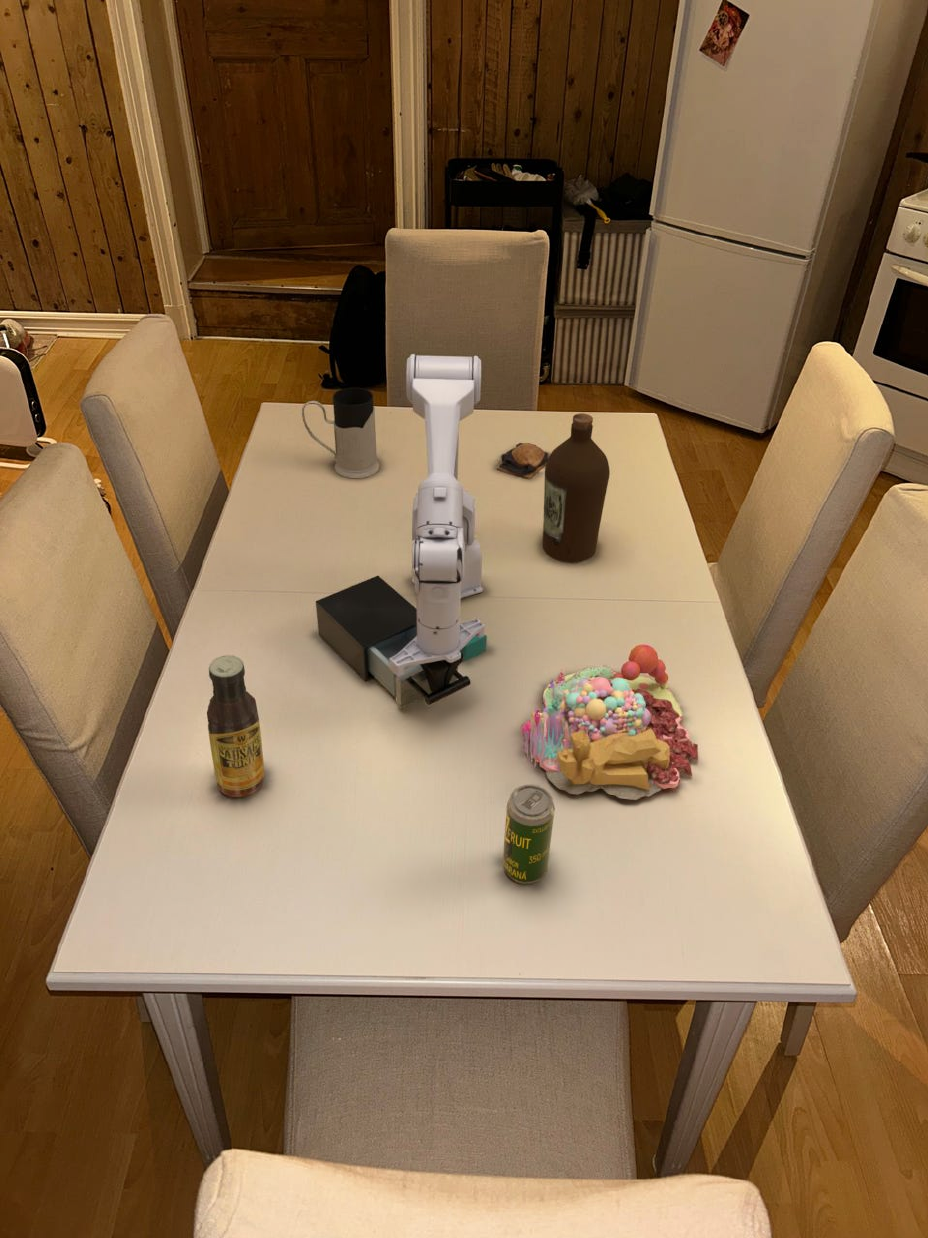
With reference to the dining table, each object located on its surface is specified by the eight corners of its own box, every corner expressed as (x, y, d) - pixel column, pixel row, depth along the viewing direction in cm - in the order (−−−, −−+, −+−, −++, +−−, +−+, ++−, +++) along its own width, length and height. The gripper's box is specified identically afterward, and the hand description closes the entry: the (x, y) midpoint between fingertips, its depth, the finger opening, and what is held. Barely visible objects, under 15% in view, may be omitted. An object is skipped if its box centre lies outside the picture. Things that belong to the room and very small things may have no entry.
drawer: (478, 699, 136) (479, 672, 133) (421, 728, 131) (420, 701, 128) (409, 636, 146) (408, 610, 143) (353, 661, 142) (351, 635, 138)
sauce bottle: (225, 807, 121) (201, 691, 108) (211, 773, 125) (187, 659, 113) (274, 789, 123) (257, 674, 111) (259, 757, 127) (241, 643, 115)
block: (470, 637, 148) (470, 622, 146) (486, 651, 145) (486, 635, 144) (449, 647, 146) (449, 632, 144) (465, 661, 143) (465, 646, 142)
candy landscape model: (719, 795, 124) (733, 745, 118) (542, 815, 121) (547, 765, 115) (657, 667, 143) (667, 619, 137) (503, 682, 140) (506, 634, 134)
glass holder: (377, 478, 184) (374, 407, 175) (303, 477, 184) (296, 405, 175) (381, 456, 191) (378, 386, 182) (310, 454, 191) (303, 384, 182)
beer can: (520, 841, 118) (526, 775, 110) (556, 865, 115) (564, 799, 107) (493, 869, 114) (497, 803, 107) (529, 894, 112) (536, 828, 104)
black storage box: (427, 652, 145) (427, 618, 141) (365, 682, 139) (363, 647, 135) (379, 609, 153) (378, 575, 149) (318, 635, 147) (315, 601, 143)
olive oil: (581, 526, 173) (596, 398, 157) (610, 557, 165) (629, 426, 150) (528, 537, 170) (538, 408, 154) (555, 570, 162) (568, 438, 146)
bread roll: (518, 447, 196) (519, 430, 193) (555, 457, 192) (556, 441, 190) (492, 468, 188) (493, 452, 186) (530, 480, 185) (531, 463, 183)
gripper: (410, 652, 120) (411, 729, 128) (500, 610, 127) (496, 686, 135) (379, 624, 124) (382, 700, 132) (467, 584, 131) (465, 659, 139)
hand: (437, 691), depth 134 cm, fingers closed, pressing on drawer
